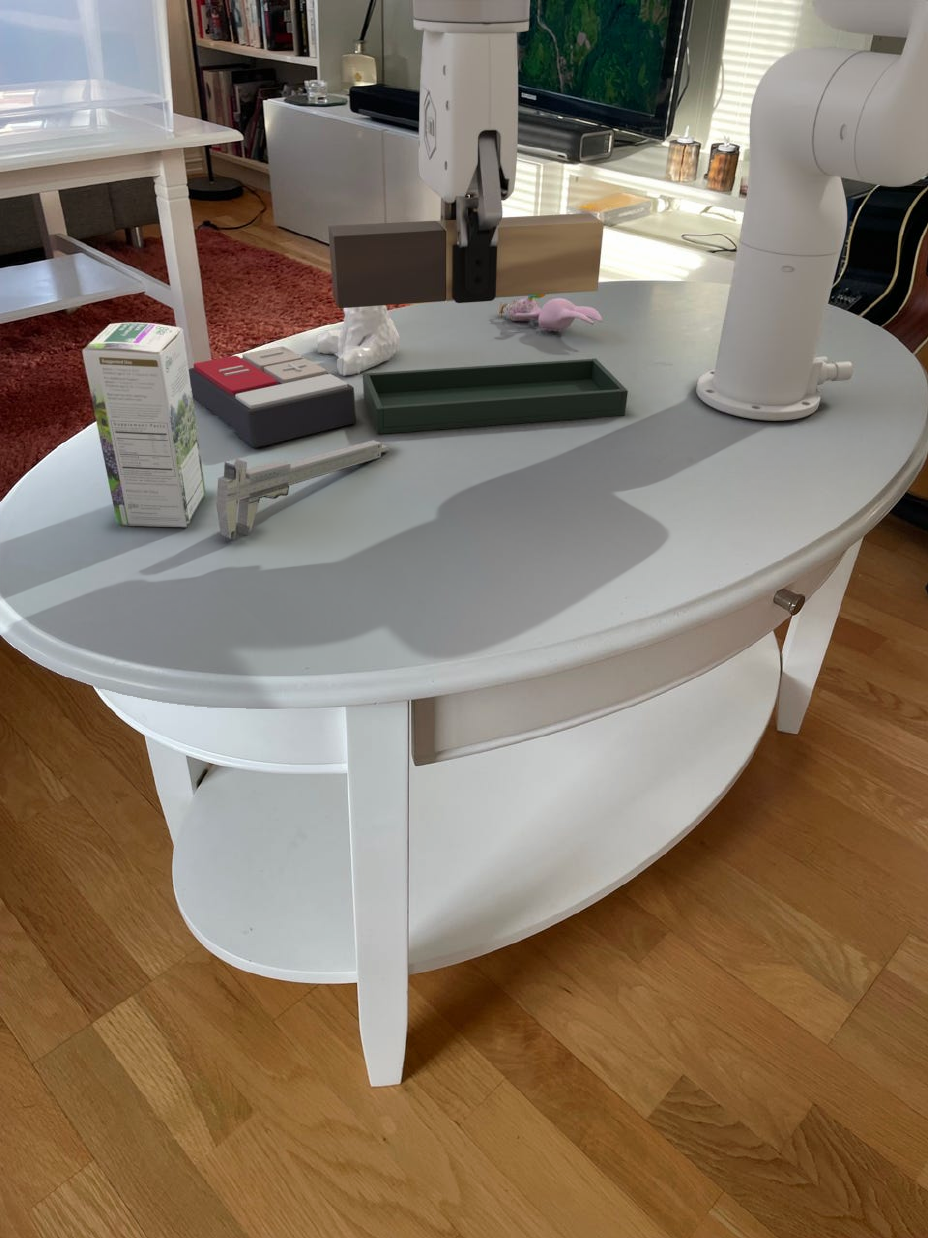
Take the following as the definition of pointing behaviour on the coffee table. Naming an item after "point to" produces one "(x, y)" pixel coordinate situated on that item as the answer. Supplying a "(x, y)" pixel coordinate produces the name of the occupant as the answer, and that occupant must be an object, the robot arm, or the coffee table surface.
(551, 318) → the rabbit figure
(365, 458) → the caliper
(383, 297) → the two-tone wooden beam
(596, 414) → the tray
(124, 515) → the syrup box
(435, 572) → the coffee table surface
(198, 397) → the calculator
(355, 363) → the sitting furry creature
